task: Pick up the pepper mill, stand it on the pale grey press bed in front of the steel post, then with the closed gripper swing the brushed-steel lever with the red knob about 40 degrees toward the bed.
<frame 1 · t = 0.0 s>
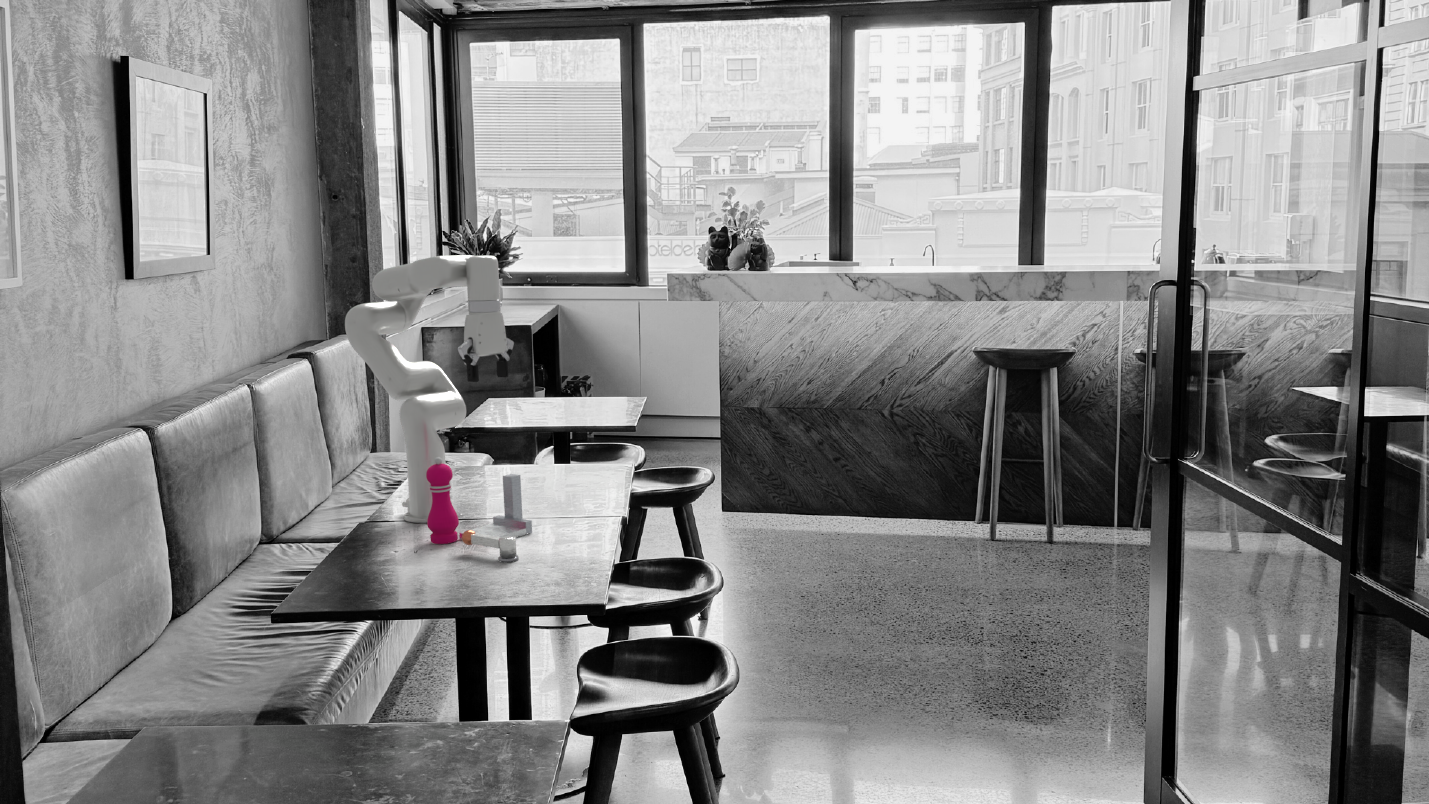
hand: (488, 379, 281), 37 cm above the table, tool pointing down, fingers open, 9 cm apart
press bed: (493, 536, 278), on the table
lever: (488, 542, 260), point 3 cm above the table, hinge at 0.0°
pepper mill: (444, 541, 275), on the table
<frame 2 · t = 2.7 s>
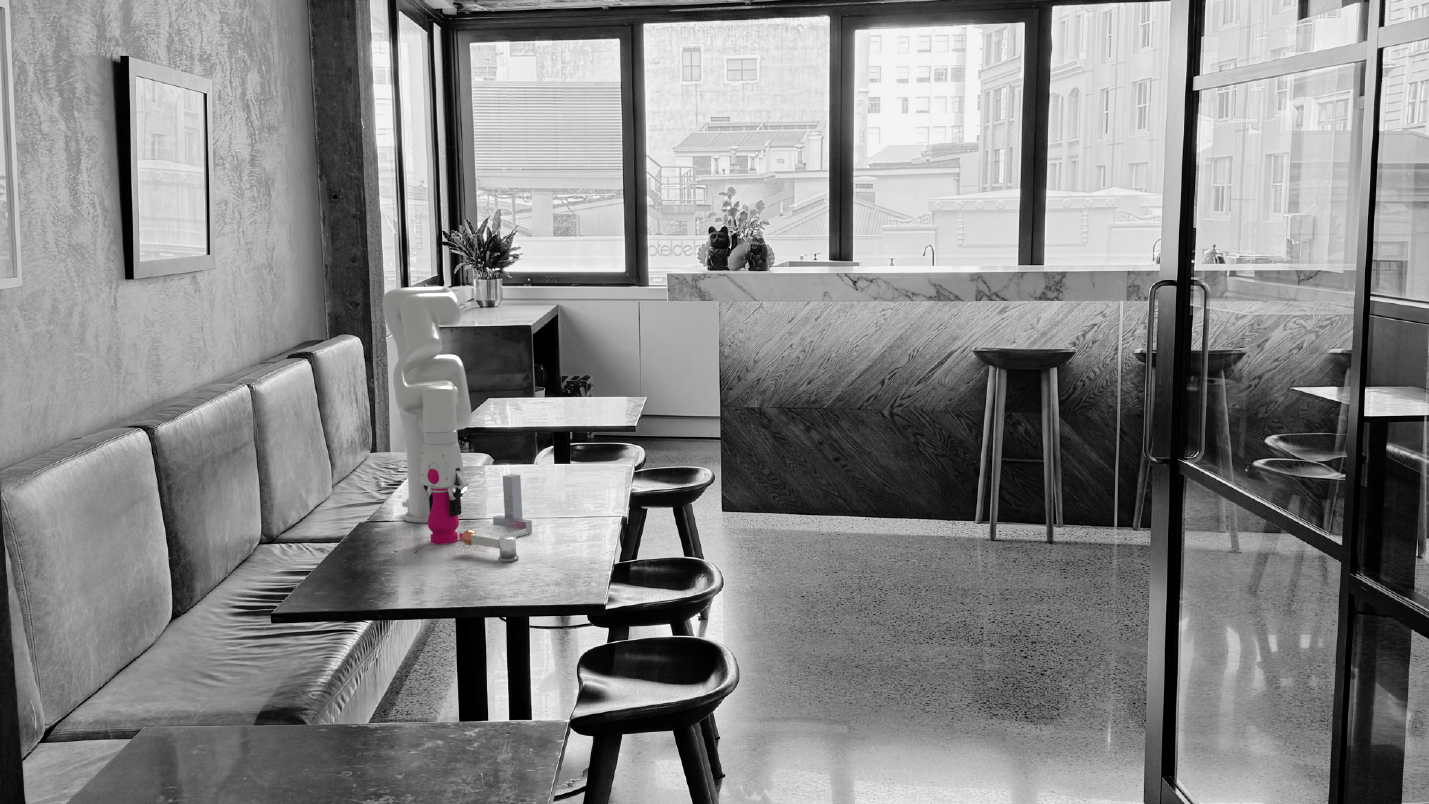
hand: (445, 513, 275), 7 cm above the table, tool pointing down, fingers closed on pepper mill, 6 cm apart
pepper mill: (444, 542, 275), on the table, touching gripper
everything else where it was.
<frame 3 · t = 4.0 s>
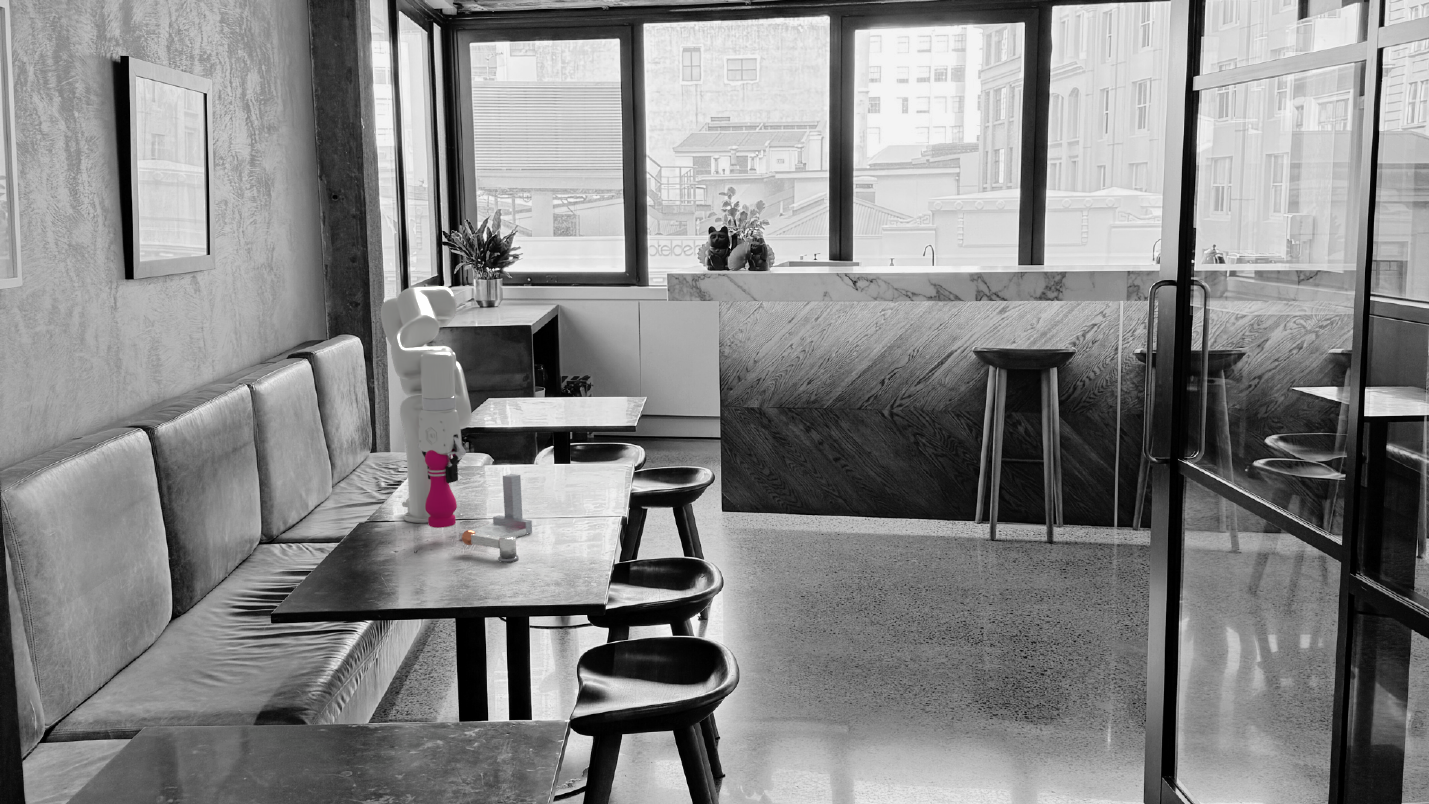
hand: (443, 479, 275), 14 cm above the table, tool pointing down, fingers closed on pepper mill, 5 cm apart
pepper mill: (442, 525, 276), point 4 cm above the table, touching gripper
everything else where it was.
when the fingers open (10 cm above the table, at t = 7.1 s): pepper mill stays where it is, resting on press bed.
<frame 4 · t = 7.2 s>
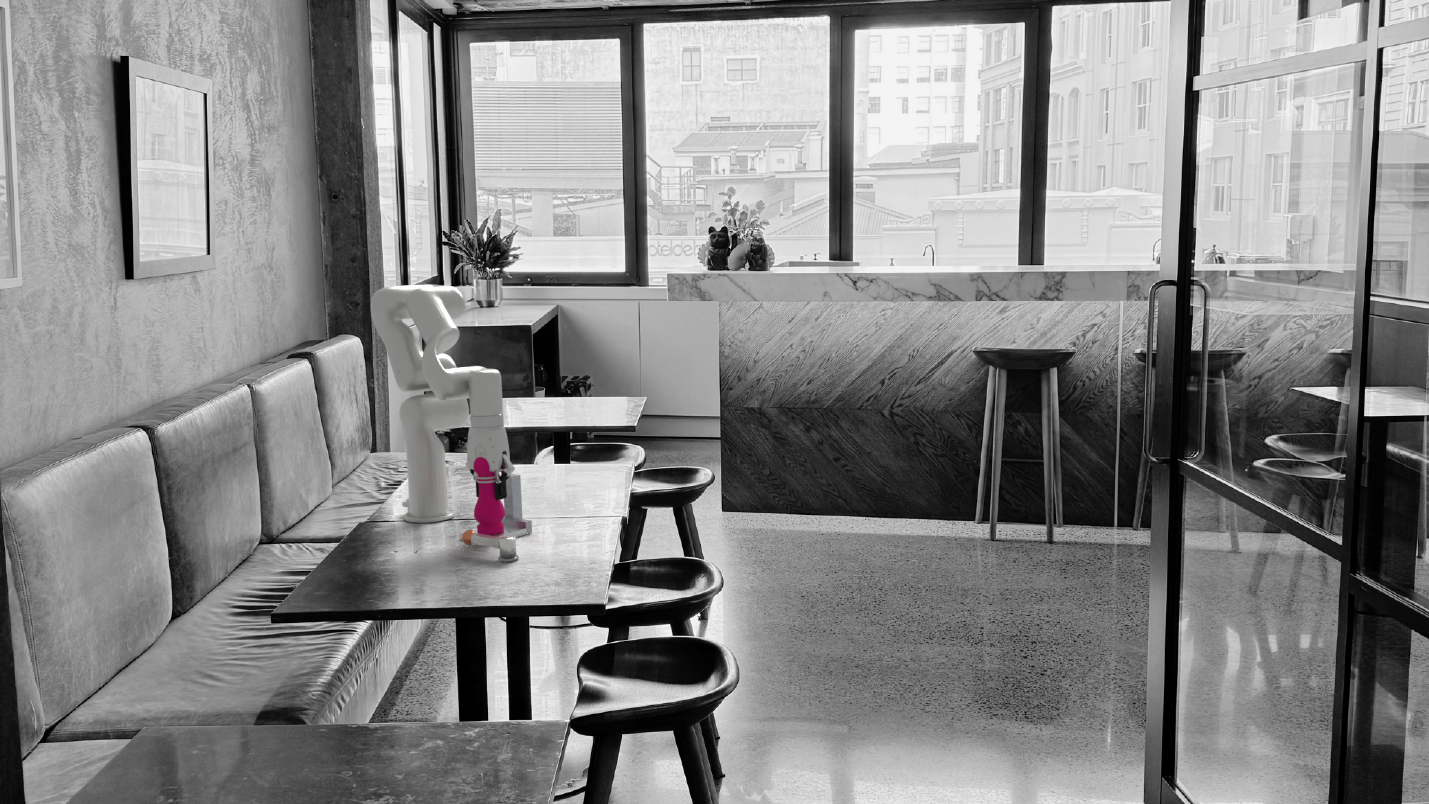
hand: (491, 496, 277), 10 cm above the table, tool pointing down, fingers open, 5 cm apart
pepper mill: (490, 532, 277), point 1 cm above the table, touching gripper, press bed
everything else where it was.
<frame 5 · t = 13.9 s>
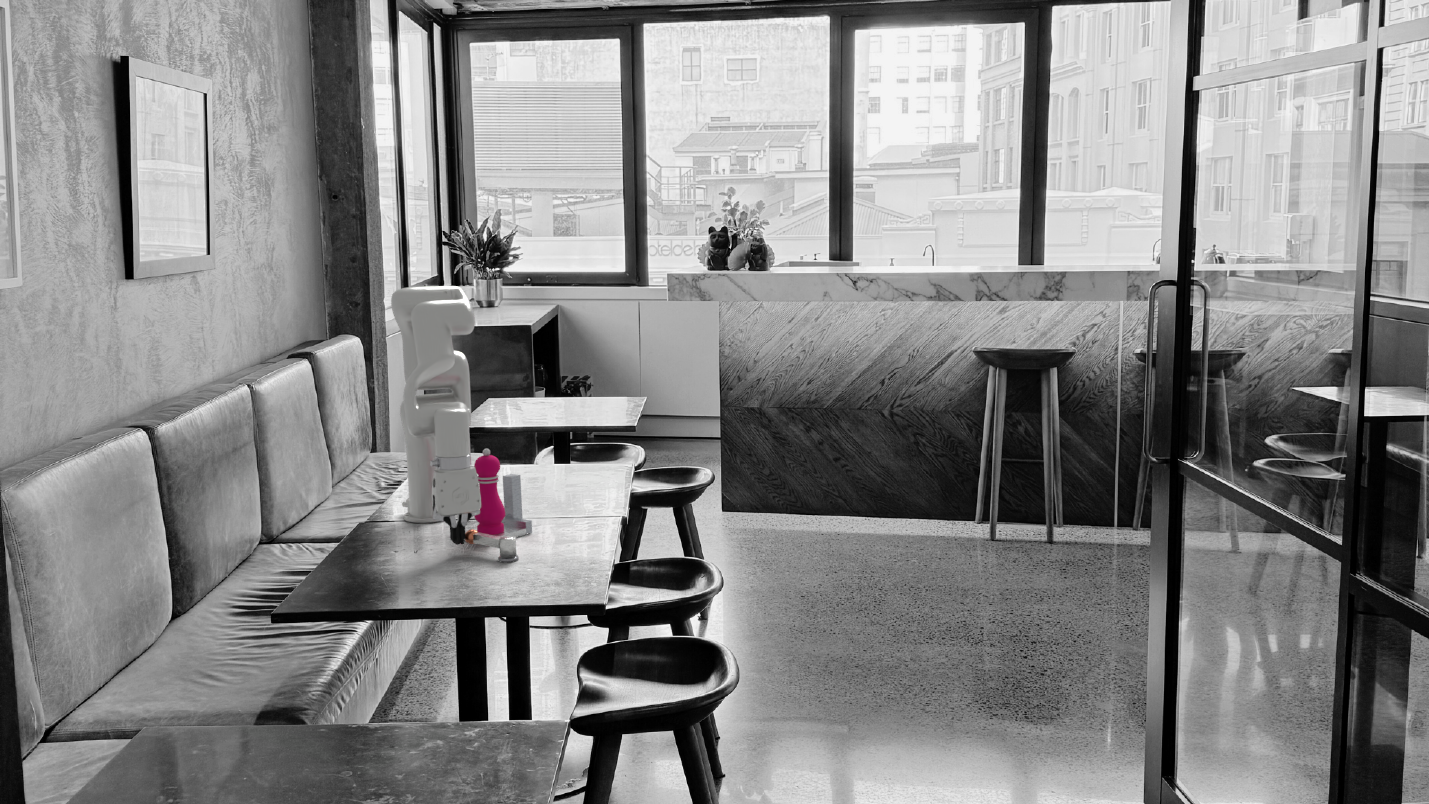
hand: (458, 543, 263), 3 cm above the table, tool pointing down, fingers closed
lever: (489, 542, 261), point 3 cm above the table, hinge at 3.8°, touching gripper
pepper mill: (490, 532, 277), point 1 cm above the table, touching press bed
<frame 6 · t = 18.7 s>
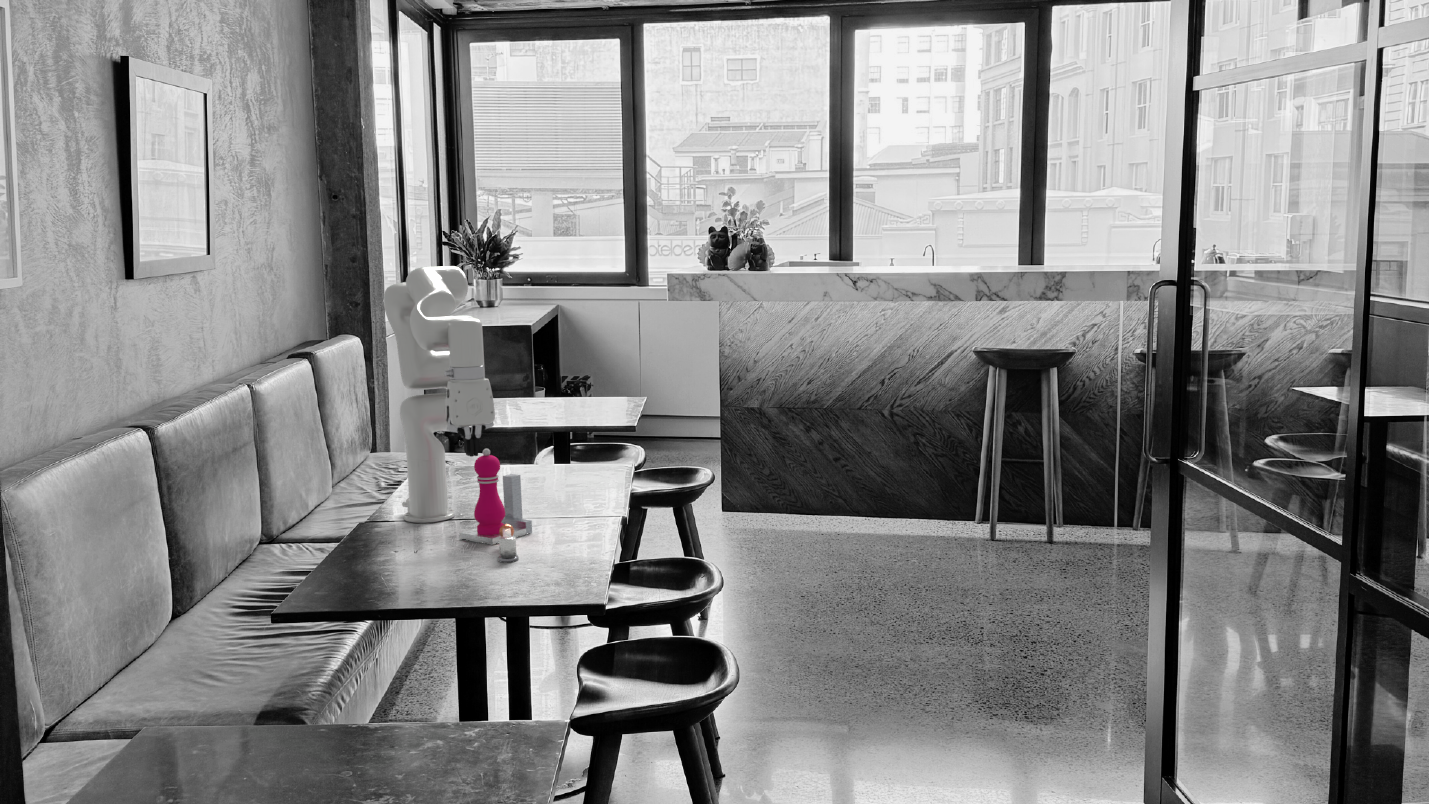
hand: (472, 455, 262), 22 cm above the table, tool pointing down, fingers closed
lever: (507, 539, 263), point 3 cm above the table, hinge at 44.0°
everything else where it was.
at the end: pepper mill inside the target area on the press bed (1.5 cm from its centre), point 1.3 cm above the press bed's base; pepper mill tilted 0°; lever at +44° (first picture: +0°) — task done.
